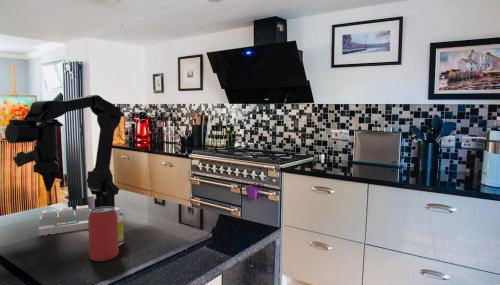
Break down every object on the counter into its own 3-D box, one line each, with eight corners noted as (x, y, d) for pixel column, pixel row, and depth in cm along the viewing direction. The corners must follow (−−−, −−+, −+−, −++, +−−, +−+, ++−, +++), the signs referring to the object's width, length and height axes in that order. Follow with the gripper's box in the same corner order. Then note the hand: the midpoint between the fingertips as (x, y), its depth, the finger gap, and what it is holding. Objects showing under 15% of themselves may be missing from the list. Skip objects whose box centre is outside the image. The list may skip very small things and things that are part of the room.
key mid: (72, 212, 109) (72, 206, 109) (72, 215, 106) (72, 209, 106) (60, 214, 107) (60, 208, 107) (60, 217, 104) (60, 210, 104)
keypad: (90, 216, 116) (89, 206, 116) (93, 228, 104) (92, 215, 104) (41, 223, 109) (41, 211, 109) (39, 236, 97) (38, 223, 97)
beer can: (95, 252, 85) (93, 206, 84) (122, 251, 85) (120, 205, 85) (85, 263, 78) (83, 213, 77) (113, 261, 79) (112, 212, 78)
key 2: (87, 211, 111) (87, 205, 111) (88, 213, 108) (88, 207, 108) (76, 212, 109) (76, 206, 109) (76, 214, 106) (76, 208, 106)
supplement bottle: (128, 241, 92) (126, 207, 91) (114, 249, 87) (112, 212, 86) (112, 239, 94) (111, 205, 93) (97, 246, 88) (96, 210, 88)
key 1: (56, 215, 106) (55, 208, 106) (56, 217, 103) (55, 211, 103) (43, 216, 105) (43, 210, 105) (43, 219, 102) (42, 212, 102)
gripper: (18, 140, 107) (20, 188, 108) (10, 144, 90) (13, 200, 92) (58, 139, 112) (60, 185, 113) (57, 142, 96) (59, 195, 97)
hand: (48, 191), depth 104 cm, fingers closed
